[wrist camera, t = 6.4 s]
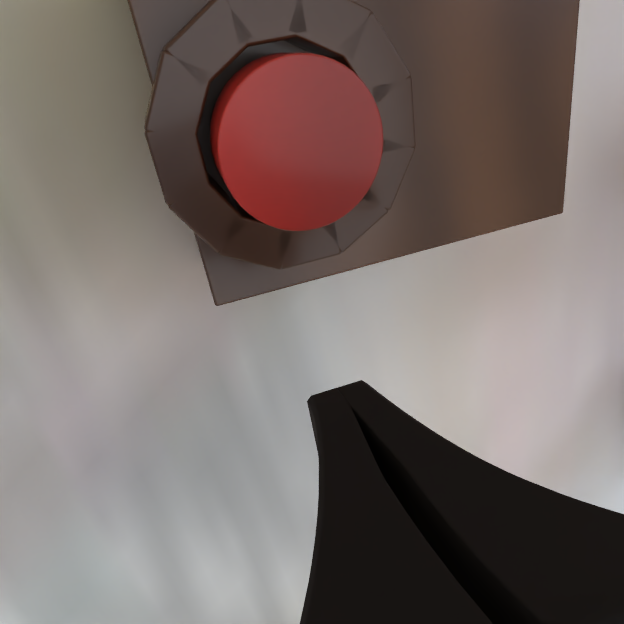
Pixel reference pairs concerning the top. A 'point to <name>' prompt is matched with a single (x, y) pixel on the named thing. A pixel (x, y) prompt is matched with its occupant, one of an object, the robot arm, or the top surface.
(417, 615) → the robot arm
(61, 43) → the top surface
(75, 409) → the top surface
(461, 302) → the top surface
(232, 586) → the top surface
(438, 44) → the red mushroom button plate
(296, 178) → the red push button
